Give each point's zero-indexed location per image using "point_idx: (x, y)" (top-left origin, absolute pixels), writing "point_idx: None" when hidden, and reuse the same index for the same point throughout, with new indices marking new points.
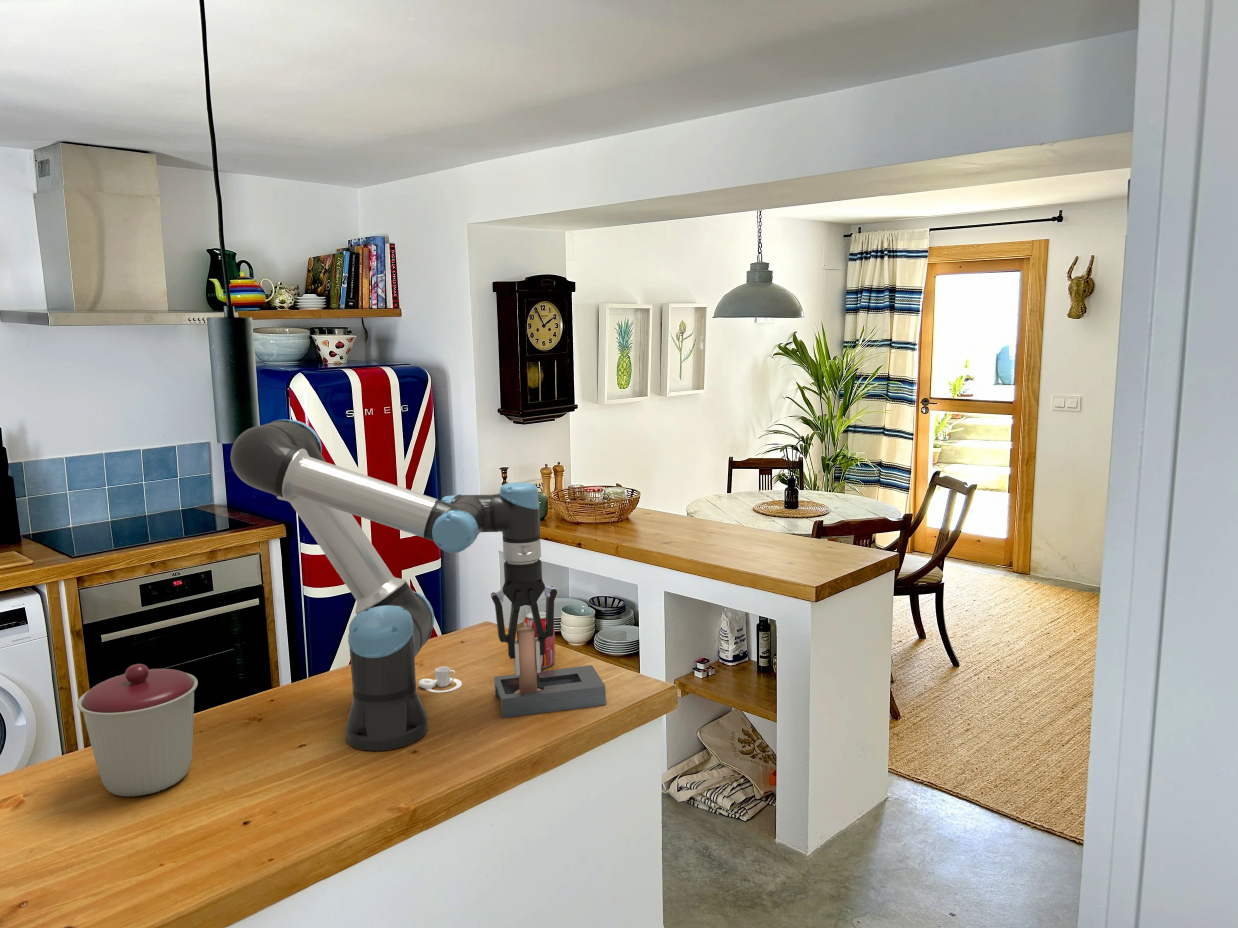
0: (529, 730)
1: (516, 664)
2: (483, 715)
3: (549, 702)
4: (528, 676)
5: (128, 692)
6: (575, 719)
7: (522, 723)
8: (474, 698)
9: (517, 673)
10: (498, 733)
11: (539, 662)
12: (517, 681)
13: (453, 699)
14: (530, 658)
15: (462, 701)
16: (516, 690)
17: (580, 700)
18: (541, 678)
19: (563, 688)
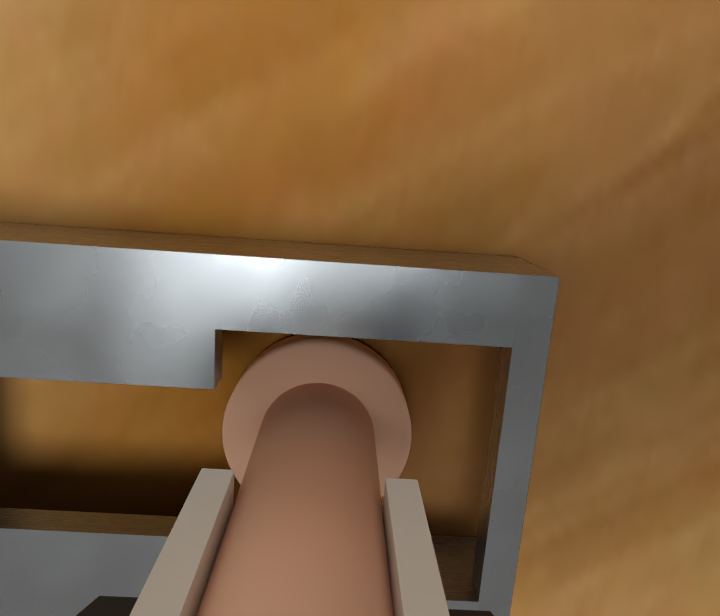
0: (408, 18)
1: (424, 540)
2: (606, 334)
3: (215, 243)
4: (317, 446)
5: None
6: (94, 69)
7: (423, 139)
8: (590, 563)
9: (408, 487)
10: (595, 51)
11: (185, 520)
12: None
13: (695, 587)
14: (273, 547)
15: (660, 548)
16: None
17: (3, 229)
18: None
19: (75, 299)
